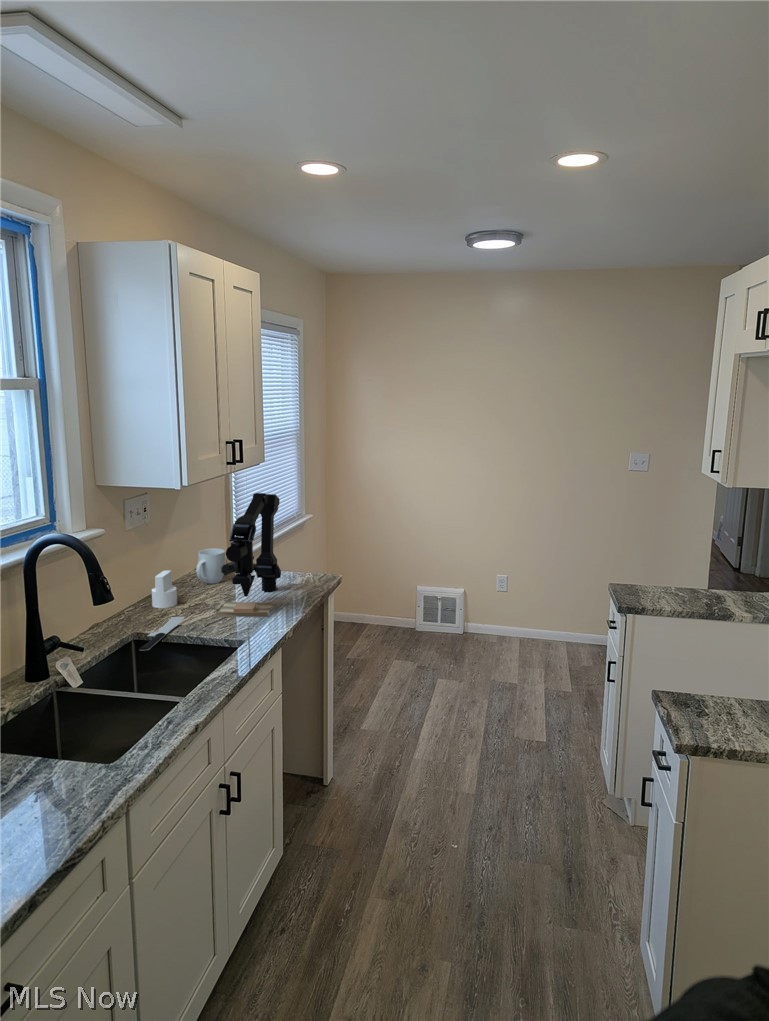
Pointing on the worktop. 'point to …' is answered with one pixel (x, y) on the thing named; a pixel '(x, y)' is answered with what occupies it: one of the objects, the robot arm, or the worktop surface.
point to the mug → (210, 565)
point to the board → (260, 611)
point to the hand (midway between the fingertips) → (246, 596)
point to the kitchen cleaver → (161, 633)
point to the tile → (245, 607)
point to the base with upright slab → (164, 591)
